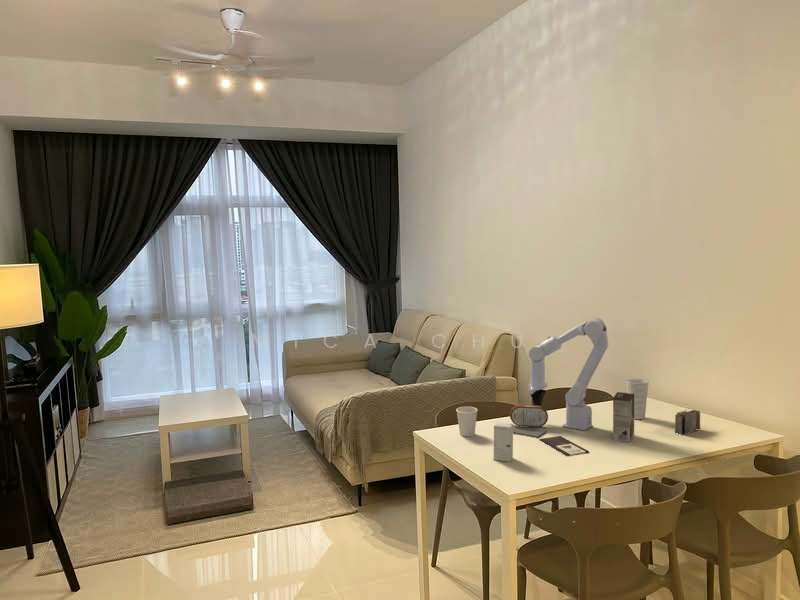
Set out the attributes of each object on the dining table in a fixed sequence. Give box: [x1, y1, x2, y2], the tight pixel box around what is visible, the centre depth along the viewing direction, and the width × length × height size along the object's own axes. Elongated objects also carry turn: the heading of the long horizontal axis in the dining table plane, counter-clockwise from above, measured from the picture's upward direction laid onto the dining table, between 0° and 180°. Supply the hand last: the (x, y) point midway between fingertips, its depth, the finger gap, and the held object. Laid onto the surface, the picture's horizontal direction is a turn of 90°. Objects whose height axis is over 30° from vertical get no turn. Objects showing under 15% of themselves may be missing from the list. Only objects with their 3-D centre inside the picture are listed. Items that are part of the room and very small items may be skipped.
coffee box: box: [612, 391, 635, 443], centre depth 223 cm, size 9×6×16 cm
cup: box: [626, 378, 649, 420], centre depth 247 cm, size 8×8×16 cm
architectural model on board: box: [674, 409, 701, 435], centre depth 228 cm, size 11×3×10 cm, turn 120°
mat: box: [513, 424, 547, 439], centre depth 235 cm, size 17×8×1 cm, turn 53°
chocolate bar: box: [539, 435, 590, 457], centre depth 217 cm, size 9×1×18 cm
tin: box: [509, 404, 549, 428], centre depth 240 cm, size 15×3×8 cm, turn 85°
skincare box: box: [492, 421, 514, 463], centre depth 205 cm, size 6×4×12 cm
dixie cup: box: [455, 406, 478, 437], centre depth 232 cm, size 8×8×10 cm
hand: (537, 407), depth 246 cm, fingers closed
